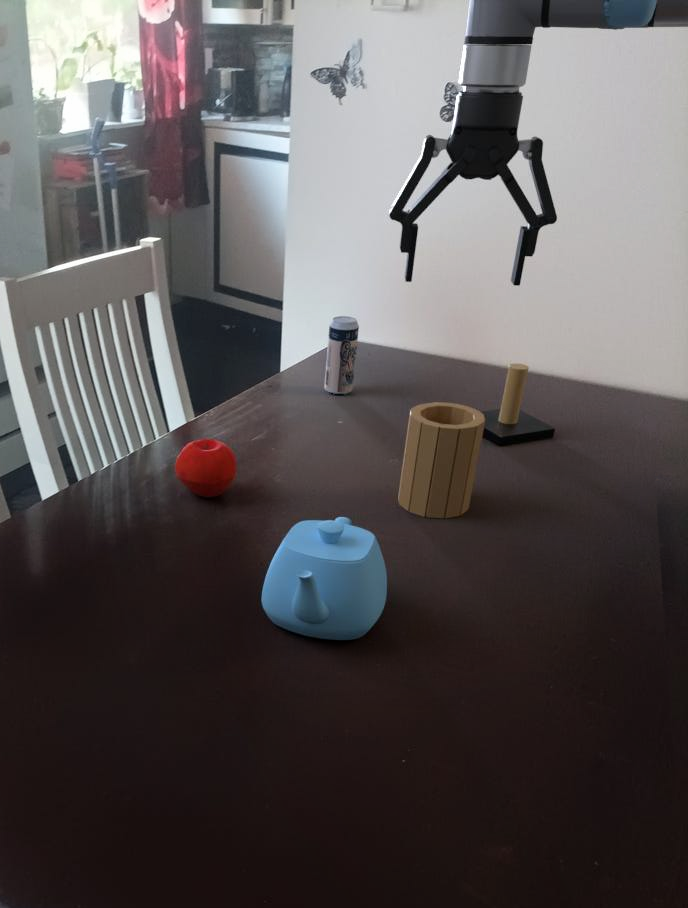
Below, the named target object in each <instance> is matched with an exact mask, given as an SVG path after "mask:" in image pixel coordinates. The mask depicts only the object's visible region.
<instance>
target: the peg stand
mask: <svg viewBox="0 0 688 908" xmlns="http://www.w3.org/2000/svg"><path fill="white" fill-rule="evenodd" d="M529 369H530V367H529V365H527V364H523V363H511V364H509V365H508V369H507V375H506V380H505V386H504V389H503V390H504V391H503V395H502V400H501V404H500V408H497V409H489V410H483V411H480V412H481V413H483V414H484V418H485V425H484V430H483V435H482V438H484V439H485V440H487V441H489V442H490V443H492V444H495V445H496V446H498V447H503V446H509V445H516V444H522V443H528V442H534V441H540V440H546V439H553V438H554V435H555V431H556V428H555V427H553V426H552V425H550V424H547V423H546V422H544V421H542V420H540V419H538V418H536V417H534V416H532V415H531V414H529V413H528V412H525V411H523V410H521V406H522V400H523V396H524V391H525V387H526V382H527V378H528V372H529Z"/></svg>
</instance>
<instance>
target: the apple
mask: <svg viewBox="0 0 688 908" xmlns="http://www.w3.org/2000/svg"><path fill="white" fill-rule="evenodd" d="M236 459H237V458H236V456H235V454H234V452H233V450H232V449H231V448H230V447H229V446H228V445H227V444H225V443H224V442H221V441H219V440H216V439H211V438H203V439H197V440H193V441H191V442H188V443H187V444H186V445H185V446H184V447H183V448H182V450H181V451H180V452H179V454H178V455H177V458H176V461H175V464H174V470H175V474H176V475H177V477H178V479H179V482H180V483H182V484H183V485H184V486H185V487H186V488H187V489H188V490H189V491H190V492H191V493H193V494H194V495H197V496H198V497H203V498H215V497H217V496H220V495H223V494H224V493H225V492H226V491H227V490H228V489H229V487H230V486H231V484H232V483H233V482H234V479H235V476H236V474H237V462H236V461H237V460H236Z"/></svg>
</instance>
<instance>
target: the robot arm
mask: <svg viewBox="0 0 688 908" xmlns="http://www.w3.org/2000/svg"><path fill="white" fill-rule="evenodd" d="M467 12H468V13H467V22H466V27H465V37H464V42H463V49H462V50H463V51H462V58H461V64H460V70H459V78H458V84H459V85H460V86H461V87H462V90H461V91H458V94H456V98H455V107H454V113H453V120H452V127H451V133H450V135H449V136H448V138H440V137H436V136H433V135H432V134H427V135H426V136H425V137H424V138H423V139H424V140H423V143H422V149H421V154H420V156H419V157H418V159H417V160H416V163H415V164H414V166H413V168H412V169H411V172H410V173H409V175H408V177H407V178H406V180H405V182H404V184H403V185H402V187H401V189H400V190H399V193H398V194H397V196H396V198H395V199H394V201H393V203H392V204H391V206H390V208H389V210H388V216H389V218H390V220H392V221H395V222H398V223H400V225H401V230H400V231H401V232H400V238H399V239H400V240H399V250H400V253H402V254H407V255H406V261H405V262H406V263H405V270H404V271H405V272H404V280H405V283H412V280H413V273H414V265H415V264H414V263H415V258H416V248H417V240H418V233H419V225H418V223H416V222H415V221H416V220H417V219H418V218H419V217H420V216H421V215H422V214H423V213H424V212H425V211H426V210H427V209H428V208H429V207H430V205H432V203H433V202H434V201H435V200H436V199H438V197H439V196H440V195H441V194H442V192H444V190H445V189H447V187H448V186H449V185H450V184H451V183H453V182H454V181H455V179H456V178H457V177H458V176H460V177H461V178H463V179H464V180H474V179H481V180H484V181H489V180H490V181H491V180H493V179H495V178H496V177H499V178H500V180H501V182H502V183H503V184H504V186H505V188H506V190H507V191H508V193H509V195H510V196H511V198H512V200H513V202H514V203H515V205H516V206H517V208H518V209H519V212H520V213H521V214H522V216H523V219H524V220H525V221H526V224H527V225H526V226H525V225H521V226H520V228H519V233H518V239H517V244H516V249H515V250H516V251H515V255H514V260H513V266H512V272H511V277H510V282H511V284H512V285H513V286H516V287H517V286H521V280H522V276H523V270H524V265H525V261H526V257H533V256H534V254H535V252H536V247H537V242H538V237H539V231H540V230H541V229H542V228H543V227H545V226H548V225H554V224H555V223H556V222H557V221H558V215H557V212H556V208H555V203H554V201H553V196H552V193H551V190H550V189H551V188H550V185H549V181H548V178H547V175H546V170H545V167H544V163H543V160H542V159H543V150H544V141H543V139H542V138H540V137H538V136H532V137H531V138H528V139H519V138H518V129H519V123H520V118H521V111H522V105H523V99H524V95H523V93H522V92H521V91H520V88H521V87H524V86H525V85H526V83H527V78H528V77H527V76H528V72H529V71H528V70H529V65H530V58H531V51H532V46H533V42H534V35H535V31H536V29H537V28H544V29H549V28H568V29H569V28H570V29H600V30H613V31H614V30H615V31H617V30H625V29H648V28H688V0H469V4H468V11H467ZM444 150H445V151H446V153H447V155H448V157H449V159H450V161H451V162H450V163H449V164H448V165H447V166H446V167H445V168H444V170H442V172H441V173H440V174H439V176H438V177H436V179H435V180H434V181H433V182H432V183H431V184H430V186H429V187H428V188H427V189H426V190H425V191H424V192H423V193H422V194H421V195H420V196H419V198H418V199H416V201H415V202H414V203H413V204H412V205H411V206H410V207H409V208H408V209H407V211H405V210H404V209H405V208H406V206H407V204H408V202H409V200H410V199H411V197H412V195H413V194H414V192H415V190H416V188H417V186H418V185H419V183H420V182H421V180H422V178H423V177H424V174H425V173H426V171H427V169H428V167H429V166H430V164H431V161H432V160H433V159H435V158H438V156H439V155H440V153H441V152H442V151H444ZM518 151H520V152H521V153H522V158H524V159H525V160H527V161H528V166H529V169H530V174H531V177H532V180H533V184H534V187H535V191H536V192H535V193H536V195H537V199H538V203H539V206H540V209H541V213H539V214H537V213H536V211H535V210H534V207H532V205H531V203H530V201H529V200H528V198H527V196H526V195H525V193H524V191H523V189H522V187H521V186H520V185H519V183H518V181H517V179H516V178H515V176H514V173H513V172H512V170H511V169H510V167H509V166H508V164H509V163H510V162H511V160H512V159H513V158H514V157H515V156H516V154H518Z"/></svg>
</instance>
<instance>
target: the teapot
mask: <svg viewBox="0 0 688 908" xmlns="http://www.w3.org/2000/svg"><path fill="white" fill-rule="evenodd" d="M384 559H385V558H384V556H383V553H382V550H381V547H380V544H379V542H378V539H377V536H375V534H374V533H372V532H371V531H369V530H367V529H365V528H362V527H359V526H356V525H353V522H352V520H351V519H350V518H348V517H345V516H338V517H336V518H335V520H332V519H327V520H319V519H318V520H317V519H315V520H314V519H308V520H302V521H299V522H297V523H295V524H294V525H293V526H292V527H291V528H290V530H289V531H288V532H287V533H286V534H285V536H284V538H283V539H282V541H281V543H280V544H279V546H278V548H277V550H276V552H275V553H274V555H273V557H272V559H271V562H270V564H269V567H268V569H267V572H266V575H265V578H264V582H263V586H262V591H261V599H260V600H261V605H262V606H261V607H262V609H263V610H264V612H265V614H266V615H267V618H269V619H270V621H271V622H272V623H273V624H275V625H276V626H278V627H281V628H282V629H285V630H287V631H290V632H293V633H295V634H299V635H302V636H306V637H310V638H315V639H316V638H317V639H323V640H334V641H351V640H356V639H359V638H362V637H363V636H365V635H366V634H367V633H368V632H369V631H370V630H371V629H372V627H374V625H375V624H376V623H377V622H378V620H379V618H380V617H381V615H382V614H383V611H384V610H385V609H384V608H385V606H386V602H387V593H388V576H387V575H388V573H387V568H386V567H387V566H386V562H385V560H384Z"/></svg>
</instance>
